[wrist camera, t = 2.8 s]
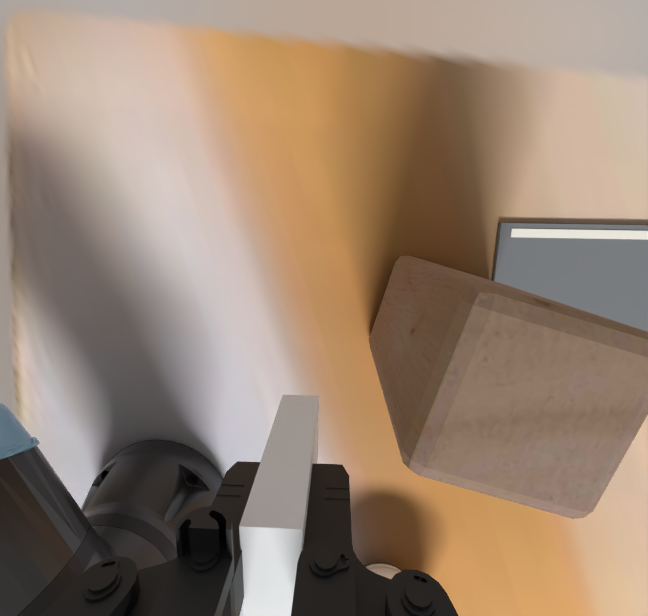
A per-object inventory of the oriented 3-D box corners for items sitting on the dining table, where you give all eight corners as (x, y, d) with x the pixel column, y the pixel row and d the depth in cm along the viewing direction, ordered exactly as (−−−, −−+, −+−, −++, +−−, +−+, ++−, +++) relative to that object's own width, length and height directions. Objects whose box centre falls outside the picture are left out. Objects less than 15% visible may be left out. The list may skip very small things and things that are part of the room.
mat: (478, 388, 37) (480, 390, 36) (498, 223, 33) (501, 222, 32) (692, 394, 36) (698, 397, 36) (738, 226, 32) (745, 226, 32)
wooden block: (396, 251, 34) (478, 281, 14) (493, 280, 34) (700, 348, 15) (365, 344, 36) (399, 479, 17) (456, 370, 36) (593, 533, 17)
